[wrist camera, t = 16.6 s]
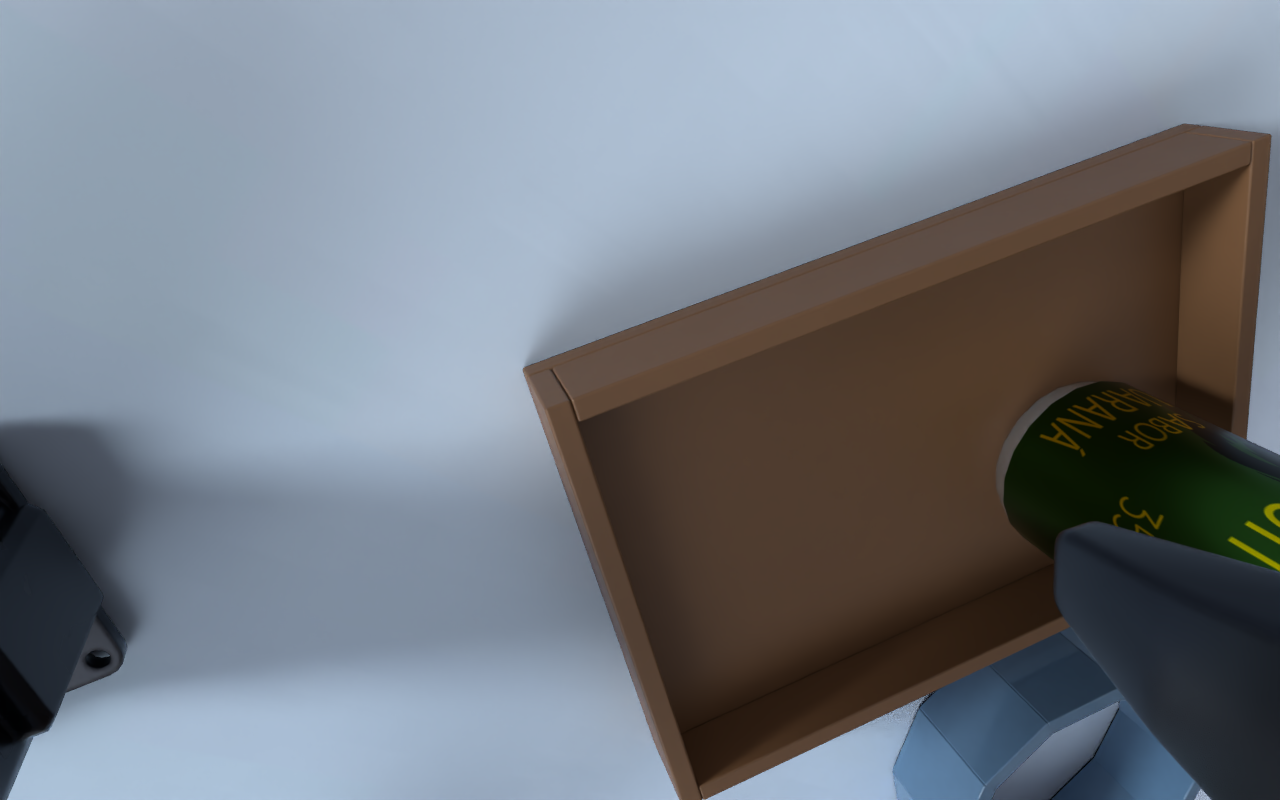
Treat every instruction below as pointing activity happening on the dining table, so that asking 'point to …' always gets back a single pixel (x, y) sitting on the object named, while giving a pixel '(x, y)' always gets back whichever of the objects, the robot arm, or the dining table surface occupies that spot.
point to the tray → (885, 441)
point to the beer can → (1138, 474)
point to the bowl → (1032, 731)
